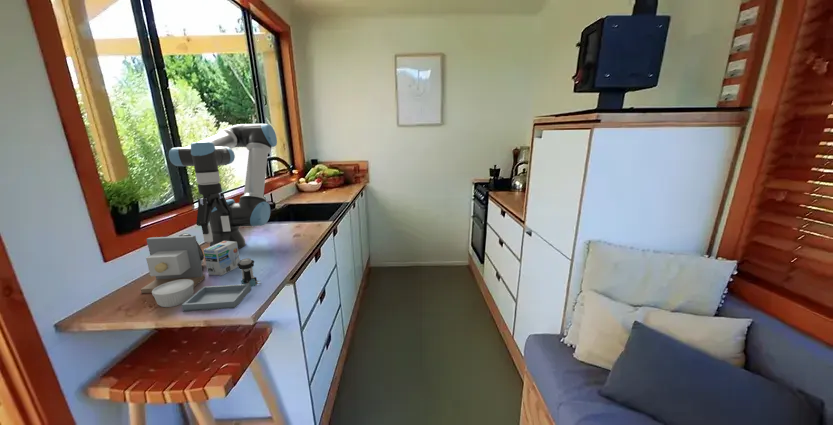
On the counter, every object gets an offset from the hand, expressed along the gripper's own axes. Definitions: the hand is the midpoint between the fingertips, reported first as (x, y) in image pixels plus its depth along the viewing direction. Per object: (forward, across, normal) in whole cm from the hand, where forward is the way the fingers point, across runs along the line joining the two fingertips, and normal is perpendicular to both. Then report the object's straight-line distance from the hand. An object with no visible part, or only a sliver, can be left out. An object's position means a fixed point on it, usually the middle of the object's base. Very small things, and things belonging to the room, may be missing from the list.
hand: (218, 236), depth 124 cm
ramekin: (+15, +23, -4) cm, 28 cm away
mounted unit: (+15, +12, -12) cm, 22 cm away
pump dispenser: (+15, -4, -15) cm, 21 cm away
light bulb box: (+15, 0, 0) cm, 15 cm away
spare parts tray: (+15, +25, +10) cm, 31 cm away
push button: (+15, +15, +17) cm, 27 cm away
